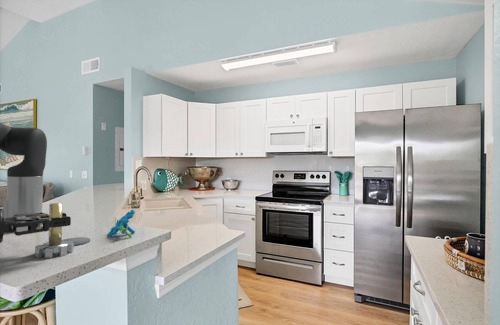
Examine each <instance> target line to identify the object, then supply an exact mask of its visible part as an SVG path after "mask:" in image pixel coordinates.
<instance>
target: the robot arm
mask: <svg viewBox="0 0 500 325" xmlns="http://www.w3.org/2000/svg"><path fill="white" fill-rule="evenodd" d="M47 147H48V140H47V135H46V134H45V132H44V131H43V130H42V128H41V129H40V128H36V127H13V126H10V125H6V124H3V123H1V122H0V151H2V152H4V153H6V154H9V155H12V156H19V157H21V156H23V159H22V161H21V162H19V163H18V164H15V165H12V166H10V167H8V168H7V171H6V172H7V173H6V174H7V175H6V176H7V177H6V180H7V182H6V199H5V200H3V202H2V204H3V206H2V207H3V208H0V244H1V243H2V242H4V234H10V233H13V234H14V235H15V236H18V237H20V236H23V235H25V236H26V235H30V234H37V233H44V232H45V233H46V232H49V229H51V228H54V227H62V228H63V227H69V226H71V224H72V223H71V222H72V221H71V217H70V216H68V215H67V213H66V212H62V217H56V218H50V217H49V213H46V212H43V199H44V198H43V194H44V193H43V192H44V171H45V168H46V163H47V162H46V161H47V160H46V159H47V158H46V157H47V149H48V148H47Z"/></svg>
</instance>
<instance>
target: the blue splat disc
mask: <svg viewBox="0 0 500 325" xmlns="http://www.w3.org/2000/svg"><path fill="white" fill-rule="evenodd" d="M135 213H136V211H135V209H131V210H130V211H128V212H126V214H125V215H123V216H122V217H121V218H120V219H119V220H118V221H117V222H115V223H114V224H115V226H112V227H111V228H110V231H109V232H107V235H108V236H110V238H111V237H113V236H115V235H117V233H118V232H120V233H121V234H122V235H124V234H125V235H126V236H127V237H128V238H132V237H133V235H134V234H135V232H136V230H134V229H133V228H132V227H130V226H129V224H128V223H129V222H130V220H131V219H133V217H134V215H135ZM129 232H130V233H131V234H132V235H131V234H130V233H129Z"/></svg>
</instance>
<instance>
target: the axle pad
mask: <svg viewBox="0 0 500 325" xmlns="http://www.w3.org/2000/svg"><path fill="white" fill-rule="evenodd" d="M63 240H64V241H73V243H74V247H77V246H81V245H85V244H87V243H90V242H91V238H89V237H81V236H80V237H70V238H65V239H63Z"/></svg>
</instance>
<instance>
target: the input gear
mask: <svg viewBox="0 0 500 325" xmlns="http://www.w3.org/2000/svg"><path fill="white" fill-rule="evenodd" d="M48 205H49V206H48V207H49V208H48V209H49V210H48V211H49V212H48V215H49V217H50V218H56V217H62V213H63V202H62V203H61V202H54V203H49V204H48ZM62 228H63V227H54V228H51V229H49V231H48V241H45V242H43V243H42V244H37V245H35V247H34V256H35V258H37V257H38V258H39V257H40V258H43V257H44V258H45V259H51V258H54V257H58V256H59V257H63V256H67V255H68V253H69V254H70V253H73V252H74V251H75V249H74V248H75V246H74V243H73V241H64V239H62V235H63V234H62V233H63V229H62ZM40 258H39V259H40Z"/></svg>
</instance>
